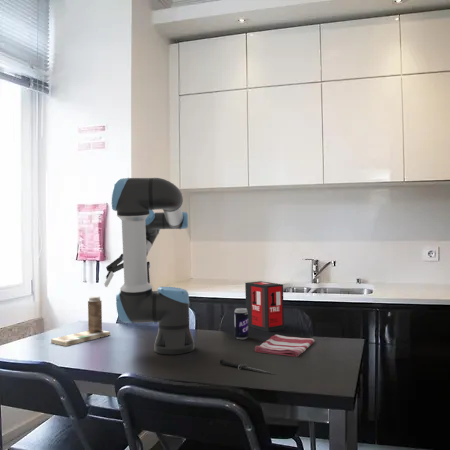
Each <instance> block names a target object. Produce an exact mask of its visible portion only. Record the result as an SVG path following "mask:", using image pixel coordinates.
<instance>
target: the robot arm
mask: <svg viewBox="0 0 450 450" xmlns="http://www.w3.org/2000/svg"><path fill="white" fill-rule="evenodd" d="M183 201H184V197H183V193H182V191H181V190H180V188H179V187H178V186H176V185H175V184H174V183H172V181H169V180H168V179H165V178H161V177H126V178H118V179H117V180H115V181H114V185H113V188H112V192H111V209H112V211H115V212H116V216H117V217H118V218H119V219H120V221H121V238H122V253H121V254H120V256H119V257H118V258H116V259H115V260H113V261H112V262H110V264H108V265H107V266H106V267H105V268H106V271H107V274H106V276H105V279H106V280H105V281H104V286H105V288H108V287H109V285H110V283H111V281H112V279H113V277H114V275H115V274H114V273H116V272H118V271H120V270H121V271H122V269H123V278H124V279H123V282H124V283H123V285H121V287H120V288H119V289H120V291H119V292H117V293H116V295H115V296H116V297H115V299H116V303H115V306H116V312H117V316H118V319H119V320H120V321H121V322H122V323H125V324H139V323H140V324H141V323H158V330H157V335H156V337H155V341H154V345H153V347H154V348H153V350H154V352H155V353H157V354H160V355H182V354H187V353H190V352H193V351H194V350H195V340H194V337H193V334H192V332H191V329H190V296H189V295H190V294H189V291H188V290H187V289H185V288H180V287H175V286H159V287H158V288H157V290H153V285H152V284H150V283H151V282H150V281H151V280H150V278H151V277H150V267H151V263H150V261H148V254H149V252H150V251H151V248H152V247H153V245H154V244H155V243H154V242H155V241H156V238H157V237H158V235H159V234H160V230H182V229H187V228H188V227H189V226H188V225H189V217H188V216H189V215H188V212H186V211H183V208H182V205H183ZM154 210H162V211H163V212H160V211H159V212H155V211H154Z"/></svg>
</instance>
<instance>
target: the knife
mask: <svg viewBox="0 0 450 450" xmlns="http://www.w3.org/2000/svg"><path fill="white" fill-rule="evenodd" d="M219 364H220V365H221V364H222V365H228V366H231V367H235V368H237V369H238V371H240V370H242V369H244V370H250V371H252V372H257V373H261V374H266V375H273V376H277V374H276V373H272V372H270V371H266V370H262V369H258V368H254V367H250V366H248V364H246V363H240V364H239V363H236V362H231V361H227V360H224V359H220V360H219Z"/></svg>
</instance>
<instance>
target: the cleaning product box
mask: <svg viewBox="0 0 450 450" xmlns="http://www.w3.org/2000/svg"><path fill="white" fill-rule="evenodd" d="M244 283H245V291H244V292H245V308H246V309H247V311H248V325H249V326H248V328H249V327H250V328H252V329H257V330H260V331H264V332H266V333H267V332H268V333H270V332H274V331H275V332H276V331H282V330H285V321H284V320H285V317H284V312H285V311H284V310H285V309H284V283H283V284H282V283H276V282H269V281H262V280H259V281H251V282H250V281H249V282H244Z"/></svg>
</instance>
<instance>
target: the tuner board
mask: <svg viewBox="0 0 450 450" xmlns="http://www.w3.org/2000/svg"><path fill="white" fill-rule="evenodd" d="M102 331H103V332H96V333H93V332H89V330H85V331H81V332H77V333H76V332H75V333H72V334H68V335H63V336H59V337H54V338H51V340H50V341H51V342H50V343H51V344H55V345H60V346H64V347H68V346H72V345H76V344H80V343H83V342H89V341H93V340H96V339H97V340H98V339H100V337H101V338H104V336H105V337H107V336H108V335H109V336H111V331H107V330H103V329H102Z"/></svg>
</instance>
